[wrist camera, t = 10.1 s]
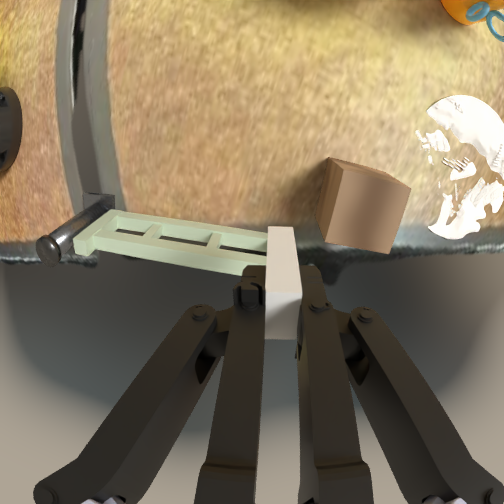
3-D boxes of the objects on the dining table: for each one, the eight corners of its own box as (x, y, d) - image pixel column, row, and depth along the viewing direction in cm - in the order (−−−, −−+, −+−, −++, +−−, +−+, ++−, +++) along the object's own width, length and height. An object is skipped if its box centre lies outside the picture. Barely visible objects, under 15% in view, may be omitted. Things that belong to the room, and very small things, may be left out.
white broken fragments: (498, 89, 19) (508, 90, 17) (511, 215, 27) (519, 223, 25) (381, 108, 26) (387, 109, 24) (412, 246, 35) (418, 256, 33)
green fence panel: (111, 222, 32) (75, 253, 25) (111, 209, 31) (72, 238, 24) (282, 248, 32) (284, 292, 25) (285, 235, 31) (288, 276, 24)
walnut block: (314, 215, 31) (324, 242, 25) (328, 156, 28) (343, 169, 22) (368, 226, 31) (388, 254, 25) (384, 171, 28) (411, 188, 22)
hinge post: (88, 225, 34) (37, 268, 23) (85, 192, 31) (27, 228, 21) (116, 230, 34) (66, 277, 23) (114, 195, 31) (57, 234, 21)
